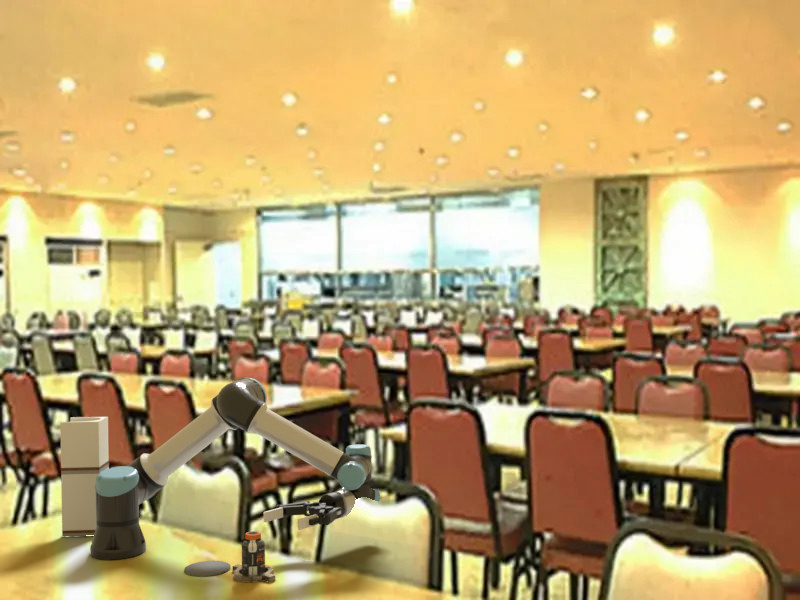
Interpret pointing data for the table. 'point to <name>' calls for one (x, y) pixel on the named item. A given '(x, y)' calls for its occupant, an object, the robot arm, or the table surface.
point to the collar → (250, 578)
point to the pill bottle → (253, 554)
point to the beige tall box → (82, 471)
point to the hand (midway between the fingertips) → (281, 520)
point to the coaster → (207, 568)
